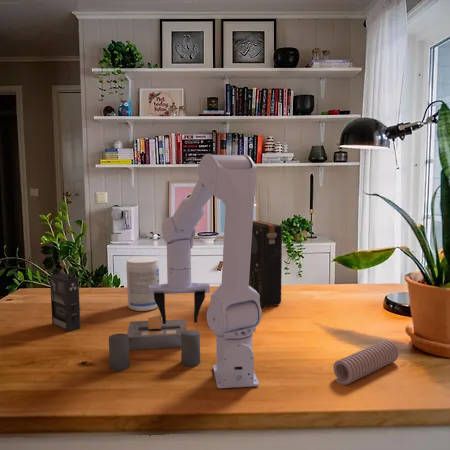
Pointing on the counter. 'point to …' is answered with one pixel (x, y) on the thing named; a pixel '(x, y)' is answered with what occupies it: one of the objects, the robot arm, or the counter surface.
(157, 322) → the block
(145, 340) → the panel
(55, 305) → the geiger counter
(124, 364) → the post left
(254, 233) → the black upright block
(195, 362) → the post right
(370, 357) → the coil
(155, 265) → the supplement tub
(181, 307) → the counter surface
